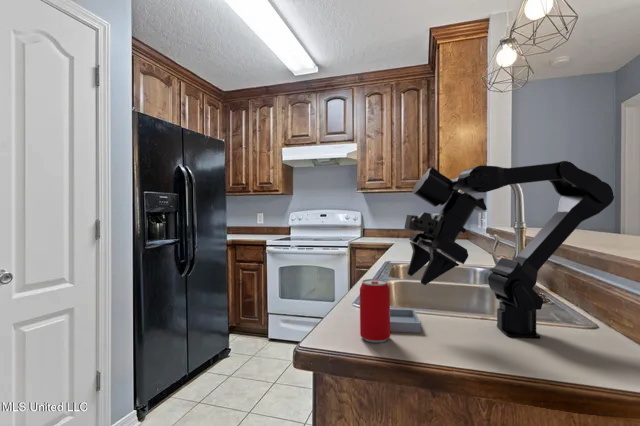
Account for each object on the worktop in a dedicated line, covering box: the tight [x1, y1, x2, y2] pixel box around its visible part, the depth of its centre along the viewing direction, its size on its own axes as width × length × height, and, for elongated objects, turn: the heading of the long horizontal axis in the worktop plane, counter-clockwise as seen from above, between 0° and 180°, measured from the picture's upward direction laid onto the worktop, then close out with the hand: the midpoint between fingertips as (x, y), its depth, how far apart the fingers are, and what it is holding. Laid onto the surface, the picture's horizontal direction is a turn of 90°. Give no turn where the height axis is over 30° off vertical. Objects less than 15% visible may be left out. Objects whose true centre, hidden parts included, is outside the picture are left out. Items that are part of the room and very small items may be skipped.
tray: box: [390, 308, 422, 334], centre depth 77 cm, size 10×10×2 cm
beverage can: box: [359, 278, 391, 344], centre depth 68 cm, size 6×6×12 cm
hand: (415, 279), depth 71 cm, fingers open, 9 cm apart
